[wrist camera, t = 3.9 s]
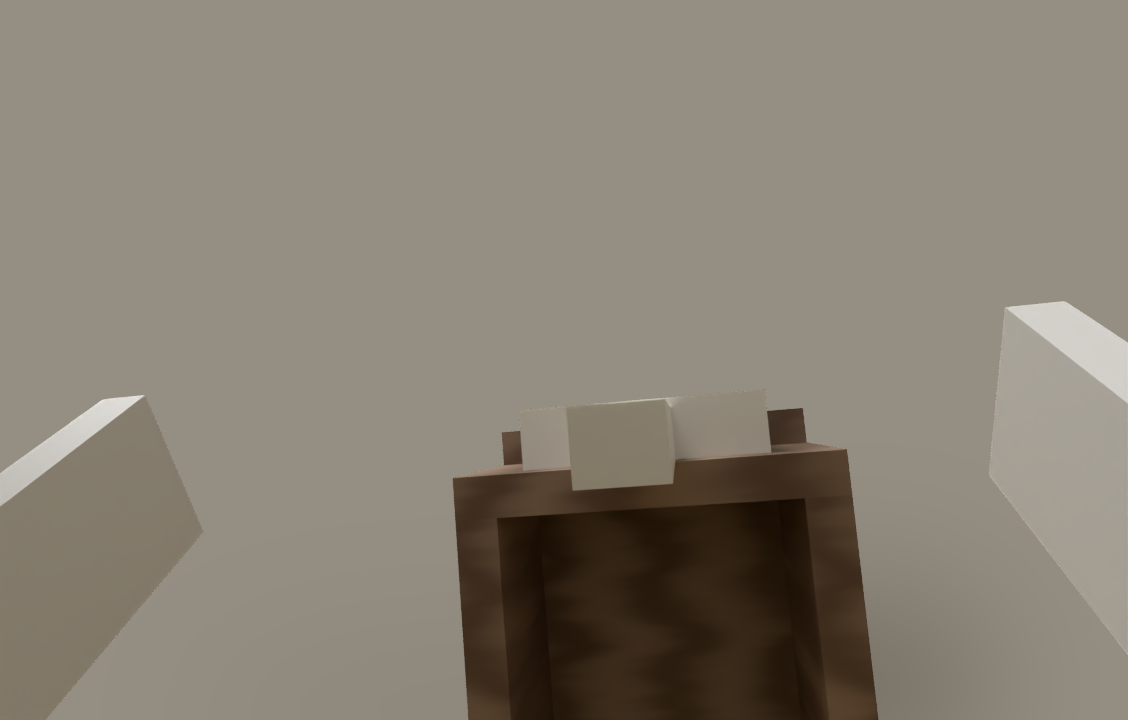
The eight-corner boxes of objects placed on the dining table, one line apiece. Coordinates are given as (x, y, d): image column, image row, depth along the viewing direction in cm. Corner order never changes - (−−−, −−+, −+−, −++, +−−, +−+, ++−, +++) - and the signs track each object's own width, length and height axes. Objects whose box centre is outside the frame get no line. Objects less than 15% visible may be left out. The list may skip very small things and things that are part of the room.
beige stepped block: (429, 500, 23) (423, 404, 23) (550, 462, 45) (546, 412, 45) (831, 472, 21) (819, 368, 21) (754, 446, 43) (749, 395, 43)
